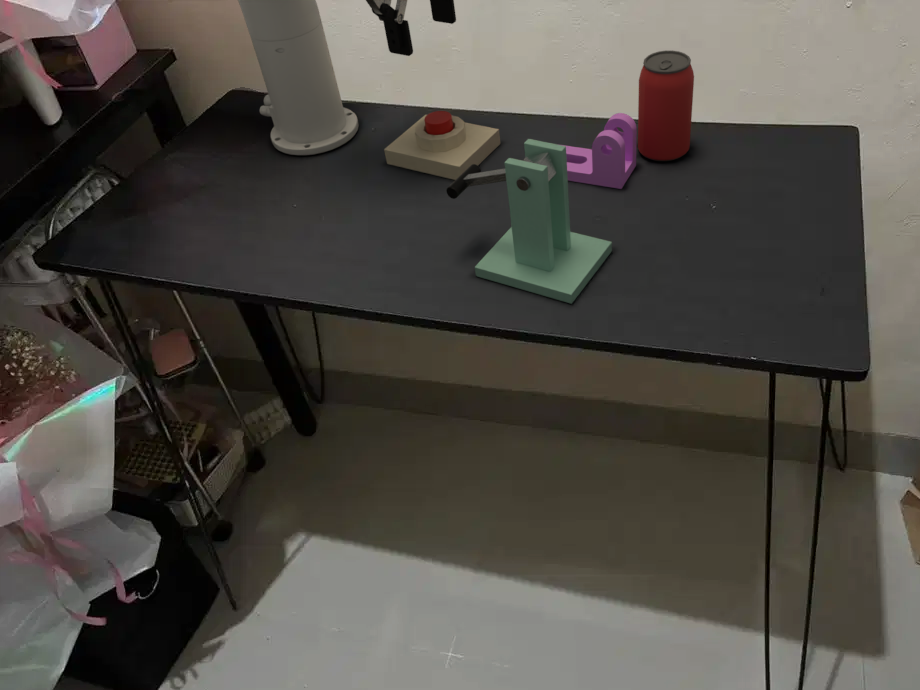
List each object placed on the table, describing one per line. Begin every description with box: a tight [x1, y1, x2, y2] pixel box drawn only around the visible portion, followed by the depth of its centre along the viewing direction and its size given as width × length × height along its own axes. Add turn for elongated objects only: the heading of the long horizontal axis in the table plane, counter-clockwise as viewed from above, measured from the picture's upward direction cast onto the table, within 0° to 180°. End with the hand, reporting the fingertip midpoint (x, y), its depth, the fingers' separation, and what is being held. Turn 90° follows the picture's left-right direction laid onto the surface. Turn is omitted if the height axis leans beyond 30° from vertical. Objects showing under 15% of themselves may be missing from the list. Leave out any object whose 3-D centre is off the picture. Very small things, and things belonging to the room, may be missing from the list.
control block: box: [383, 114, 501, 181], centre depth 111 cm, size 12×10×4 cm
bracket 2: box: [561, 112, 638, 190], centre depth 104 cm, size 13×6×7 cm, turn 64°
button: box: [424, 110, 453, 135], centre depth 110 cm, size 4×4×2 cm
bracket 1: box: [474, 138, 613, 305], centre depth 89 cm, size 12×10×14 cm
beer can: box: [637, 50, 695, 162], centre depth 104 cm, size 7×7×12 cm
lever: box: [446, 153, 556, 200], centre depth 88 cm, size 12×5×2 cm, turn 59°
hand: (423, 36), depth 102 cm, fingers open, 8 cm apart
